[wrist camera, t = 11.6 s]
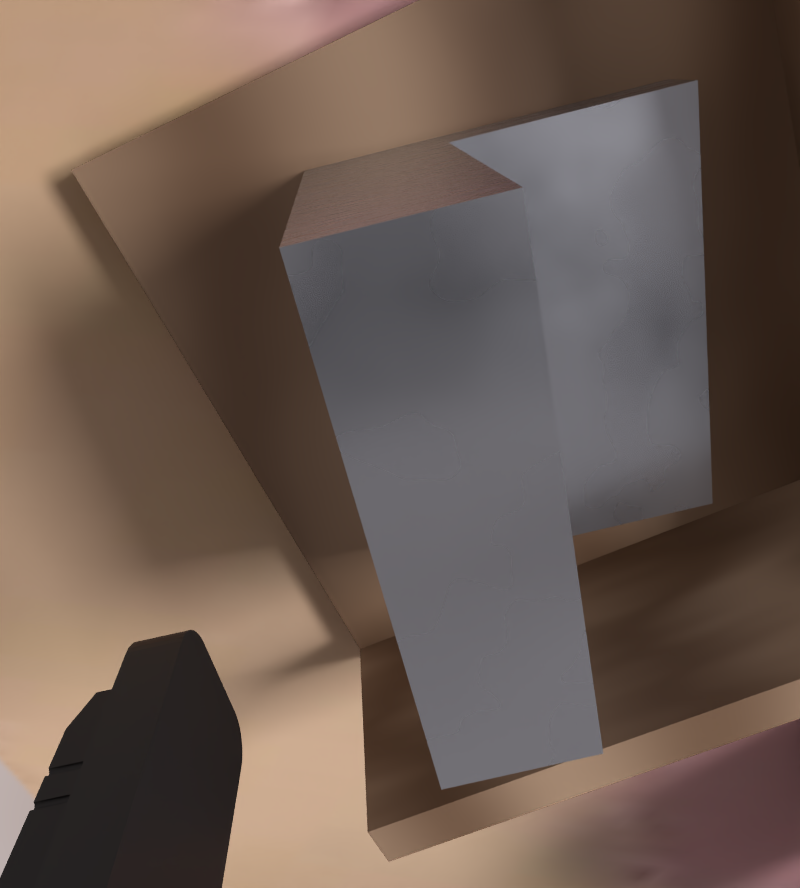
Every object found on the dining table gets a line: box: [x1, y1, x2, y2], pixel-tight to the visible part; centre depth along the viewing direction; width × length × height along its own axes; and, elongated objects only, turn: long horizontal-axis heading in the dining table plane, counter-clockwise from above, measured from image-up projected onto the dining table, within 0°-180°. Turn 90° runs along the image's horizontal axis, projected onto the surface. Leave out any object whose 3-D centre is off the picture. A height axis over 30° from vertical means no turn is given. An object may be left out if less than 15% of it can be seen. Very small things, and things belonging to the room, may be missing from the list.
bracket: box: [279, 80, 713, 790], centre depth 15 cm, size 10×8×8 cm
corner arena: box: [71, 0, 800, 861], centre depth 16 cm, size 16×16×7 cm
